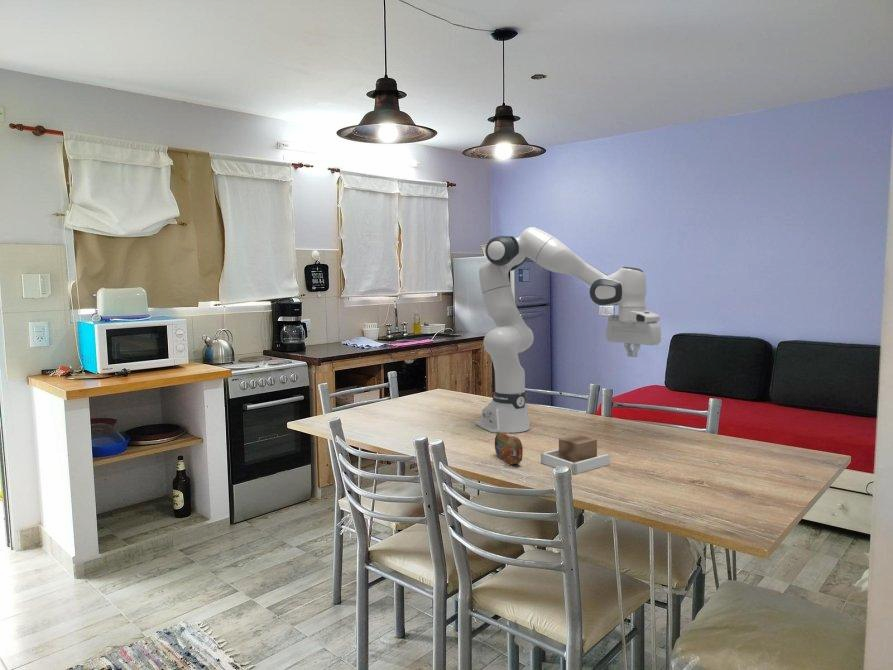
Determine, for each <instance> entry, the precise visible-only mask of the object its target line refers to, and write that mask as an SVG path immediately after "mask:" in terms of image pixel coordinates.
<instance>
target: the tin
mask: <svg viewBox="0 0 893 670" xmlns="http://www.w3.org/2000/svg"><path fill="white" fill-rule="evenodd" d="M494 449H495V454H496V456H497V458H499V459H500V460H501V461H503V462H505V463H507V464H509V465H518V464H520V463H521V462H522V460H523V455H524V454H523V449H524V447H523V444H522V441H521V439H520V438H519V437H517V436H515V435H513V434H511V433H507V432H496V434H495V438H494Z"/></svg>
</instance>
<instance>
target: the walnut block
mask: <svg viewBox="0 0 893 670" xmlns="http://www.w3.org/2000/svg"><path fill="white" fill-rule="evenodd" d="M597 443H598V440H597V439H596V438H593V437H588V436H585V435H580V434H573V435H570V436H565V437H560V438H558V449H559V458H561V459H564V460H567V461H570V462H573V463H576V462H579V461H583V460H587V459H590V458H594V457H598V444H597Z"/></svg>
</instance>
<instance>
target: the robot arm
mask: <svg viewBox="0 0 893 670" xmlns="http://www.w3.org/2000/svg"><path fill="white" fill-rule="evenodd" d="M484 251H485V256H486V258H487V260H488V261H486V262H484V263H483V264H481V265H480V267H479V270H478V275H479V285H480V289H481V295H482V298H483V303H484V306H485V310H486V313H487V315H488V316H489V317H490V318H491V319H492V320H493V322H494V323H495V325H496V327H495V328H493V329H490V331H488V332H487V333H486V334H485V335H484V337H483V342H482V343H483V346H484V347H483V348H484V350H485V352H486V353H487V354H488V355H489V356H490V359H491V362H492V364H493V371H494V379H495V380H494V382H495V390H494V391H491V392H490V393H491V396H492V401H490V402H489V403H488V404H487V405H486V406H485V407H484V408H482V410H481V418H480V419H479V420H476V421H475V425H476V426H478V427H480V428H482V429H484V430H486V431H488V432H490V433H498V432H507V433H509V434H511V433H513V434H514V433H521V432H525V431H526V432H527V431H528V430H530V429H531V421H530V417H529V409H528V405H527V397H528V395H527V391H526V374H525V373H526V371H525V369H524V368H523V367H522V365H521V363H520V359H519V353H523V352H525V351H526V350H528V349H530V347H531V346H532V345H533V343H534V339H535V337H534V332H533V330H532V329H531V328H530V327H529V326H528V325H527V324H526V322H525V320H524V319H523V317H522V315H521V314H520V310H519V309H518V307H517V305H516V301H515V298H514V297H515V296H514V293H513V289H512V286H511V283H510V277H509V272H510V271H511V272H512V271H515V269H517V268H518V267H520V266H521V265H523V264H524V263H526V261H528V259H530V260H532V261H533V262H534V263H536V264H537V265H539V266H540V267H541V268H543V269H545V270H547V271H550V272H552V273H557V274H564V275H568V276H572V277H575V278H577V279H579V280H581V281H582V282H584V283H585V284H586V285H588V286H590V287H589V297H590V299H591V300H592V302H593V303H594V304H596V305H599V306H601V307H607V306H609V307H610V306H618V314H611V315H610V316H609V317H607V325H606V330H605V339H606V341H607V342H611V343H614V342H615V343H619V344H620V343H622V344H623V346H624V348H625V349H624V350H625V351H626V356H627V358H637V357H638V352H639V350H640V348H641V345H644V346H658V345H660V343H661V341H662V331H661V329H662V328H661V324H660V315H659V314H658V313H655V312H653V311H650V310H648V309H647V303H646V296H647V282H646V281H647V280H646V274H645V272H644V270H642V269H641V268H637V267H632V266H623V267H620V268H619V269H618V270H616V271H615V272H614V273H611V274H609V275H608V274H606V273H604V272H602V271H601V270H599V269H598V268H596V267H594V266H593V265H591V264H590V263H588V262H586V261H585V260H584V259H582V258H581V257H580V256H579V255H577V254H576V253H575V252H574V251H573V250H572V249H570V248H569V247H568V246H567V245H565V243H563V242H562V241H560V239H558V238H556V237H555V236H554V235H552V234H550V233H548V232H546V231H545V230H542V229H540V228H538V227H534V226H529V227H527V228H525V229H524V230H523V231H522V232H521V233H520V235H519V236H518V237H515V236H513V235H510V236H509V235H498V236H494V237H493V238H491V239H490V240H489V241H488V242H487V243H486V246H485V250H484ZM632 347H633V350H632Z"/></svg>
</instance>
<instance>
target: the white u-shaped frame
mask: <svg viewBox="0 0 893 670" xmlns="http://www.w3.org/2000/svg"><path fill="white" fill-rule="evenodd" d="M610 459H611V455H610V454H608V453H606V454H602V455H597V457H594V458H590V459H587V460H583V461H579V462H576V463H573V462H570V461H567V460H564V459H561V458H559V448H557V449H553V450H549V451H544V452H542V453H540V463H541V464H543V465H545V466H548V467H552V468H555V467H557V466H567V467H569V468H570V469H571V471H572V474H571V475H578V474H582V473H584V472H585V473H586V472H588V471H591V470H595V469H598V468H602V467H606V466H608V465H609V466H610V464H611V460H610ZM555 469H556V468H555Z"/></svg>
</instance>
